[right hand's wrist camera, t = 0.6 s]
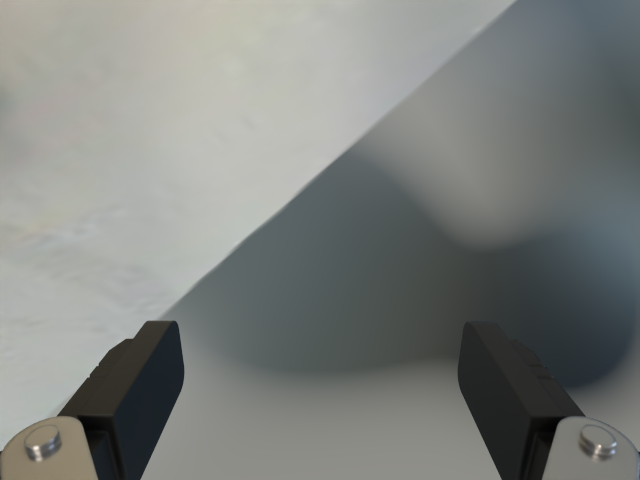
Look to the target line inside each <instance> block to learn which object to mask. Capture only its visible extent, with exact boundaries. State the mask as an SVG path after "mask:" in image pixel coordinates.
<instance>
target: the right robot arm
mask: <svg viewBox="0 0 640 480" xmlns="http://www.w3.org/2000/svg"><path fill="white" fill-rule="evenodd" d="M183 381H184V363H183V355H182V348H181V341H180V334H179V327H178V324H177V322H176V321H147V322H145V324H144V325H143V326H142V328H141V329H140V330H139V332H138V333H137V334H136V336H135V337H134V338H133V339H125V340H124V341H122V342H121V343H119V344H118V345H116V346H115V347H114V348H112V349H111V350H109V351H108V353H107V354H106V355H105V356H104V358H103V359H102V360H101V361H100V363H99V366H96V368H95V369H94V370H93V371H92V373H91V374H90V377H89V378H87V379H86V380H85V381H84V383H83V384H82V385H81V386H80V388H79V389H78V390H77V392H76V393H75V394H74V395H73V397H72V398H71V399H70V400H69V402H68V403H67V404H66V405H65V407H64V408H63V409H62V410H61V412H60V413H59V414H58V415H57V417H52V418H48V419H45V420H42V421H39V422H37V423H34V424H32V425H30V426H29V427H27V428H25V429H24V430H22V431H20V432H19V433H18V434H17V435H15V436H14V437H13V438H12V439H11V440H10V441H9V442H8V443H7V444H6V446H5V447H4V449H3V451H0V480H140V479H141V477H142V475H143V473H144V470H145V468H146V466H147V464H148V462H149V460H150V457H151V455H152V453H153V451H154V449H155V446H156V444H157V442H158V440H159V438H160V435H161V433H162V431H163V429H164V427H165V425H166V422H167V420H168V418H169V416H170V414H171V411H172V409H173V407H174V405H175V403H176V400H177V398H178V396H179V394H180V392H181V389H182V386H183ZM458 381H459V386H460V390H461V392H462V394H463V397H464V399H465V401H466V403H467V405H468V407H469V410H470V412H471V414H472V416H473V418H474V420H475V423H476V425H477V427H478V429H479V431H480V433H481V436H482V438H483V440H484V442H485V444H486V446H487V448H488V451H489V453H490V455H491V457H492V459H493V461H494V464H495V466H496V468H497V470H498V472H499V474H500V477H501V479H502V480H640V452H638V451H637V449H636V447H635V446H634V445H633V443H632V442H631V441H630V440H629V439H628V438H627V437H626V436H625V435H623V434H622V433H621V432H619V431H618V430H616V429H615V428H613V427H611V426H610V425H608V424H606V423H603V422H601V421H598V420H595V419H592V418H588V417H586V416H585V415H584V414H583V412H582V411H581V410H580V409H579V407H578V406H577V405H576V404H575V402H574V401H573V400H572V399H571V397H570V396H569V395H568V394H567V393H566V391H565V390H564V389H563V388H562V386H561V385H560V384H559V383H558V381H557V380H556V379H553V375H552V374H551V373H550V371H549V370H548V369H547V368H546V367H544V364H543V363H542V361H541V360H540V359H539V358H538V356H537V355H536V354H535V353H534V352H533V351H532V350H531V349H529V348H528V347H526V346H525V345H523V344H522V343H520V342H519V341H517V340H509V339H508V337H507V336H506V335H505V333H504V332H503V331H502V329H501V328H500V326H499V325H498V324H497V323H496V322H494V321H468V322H466V323H465V325H464V329H463V335H462V343H461V350H460V357H459V364H458Z"/></svg>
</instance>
